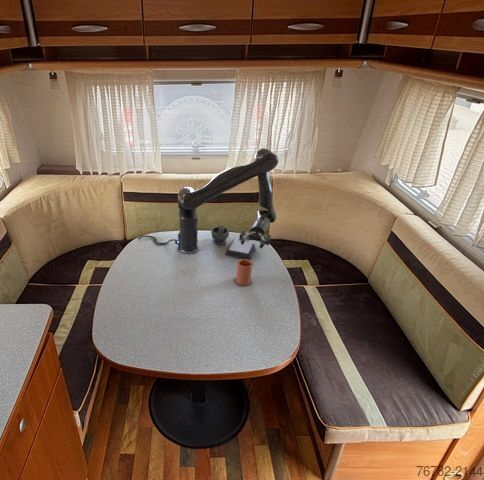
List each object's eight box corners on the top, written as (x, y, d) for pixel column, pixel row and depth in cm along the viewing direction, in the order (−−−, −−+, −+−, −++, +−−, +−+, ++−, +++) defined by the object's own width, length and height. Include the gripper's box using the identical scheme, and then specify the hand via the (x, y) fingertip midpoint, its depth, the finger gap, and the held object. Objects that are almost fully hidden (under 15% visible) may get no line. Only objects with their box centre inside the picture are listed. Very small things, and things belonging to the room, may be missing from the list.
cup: (234, 283, 161) (235, 265, 156) (238, 276, 166) (239, 258, 161) (248, 286, 159) (250, 268, 154) (251, 279, 164) (253, 260, 159)
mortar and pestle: (210, 237, 198) (211, 217, 192) (227, 237, 199) (228, 217, 193) (211, 247, 189) (212, 227, 183) (229, 247, 189) (230, 227, 183)
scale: (226, 254, 182) (226, 249, 181) (232, 243, 192) (232, 239, 191) (248, 259, 179) (249, 254, 177) (254, 248, 188) (255, 243, 187)
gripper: (245, 220, 177) (236, 235, 164) (274, 225, 173) (267, 240, 160) (244, 233, 181) (236, 248, 168) (272, 238, 177) (266, 254, 163)
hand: (251, 244), depth 164 cm, fingers open, 8 cm apart
